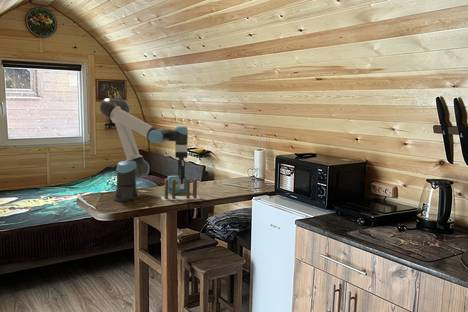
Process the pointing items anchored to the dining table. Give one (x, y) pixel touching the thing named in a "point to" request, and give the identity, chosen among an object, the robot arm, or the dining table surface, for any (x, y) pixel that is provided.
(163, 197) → the board
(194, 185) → the domino
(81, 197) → the dining table surface
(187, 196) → the domino
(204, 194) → the dining table surface
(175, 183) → the domino
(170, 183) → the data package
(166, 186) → the domino
